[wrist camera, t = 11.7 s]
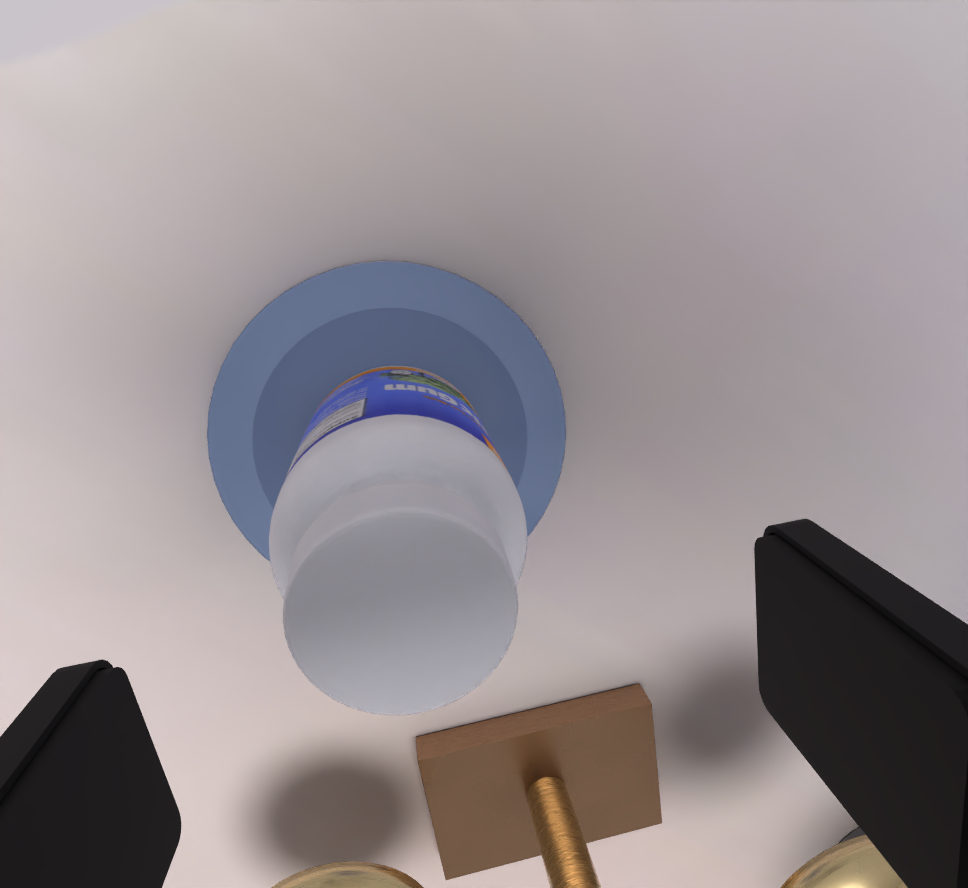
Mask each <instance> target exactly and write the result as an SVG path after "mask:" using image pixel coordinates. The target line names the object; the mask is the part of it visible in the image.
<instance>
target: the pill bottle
mask: <svg viewBox="0 0 968 888" xmlns="http://www.w3.org/2000/svg"><path fill="white" fill-rule="evenodd" d="M526 549H527V526H526V519H525V513H524V509H523V505H522V502H521V499H520V496H519V494H518V491H517V489H516V487H515V485H514V482H513V480H512V478H511V476H510V474H509V472H508V471H507V468H506V467H505V465H504V463H503V461H502V459H501V458H500V456H499V454H498V452H497V450H496V448H495V446H494V445H493V443H492V441H491V439H490V437H489V435H488V433H487V432H486V430H485V428H484V426H483V424H482V422H481V420H480V418H479V417H478V415H477V413H476V411H475V410H474V408H473V407H472V405H471V404H470V402H469V401H468V400H467V399H466V398H465V396H464V395H463V394H462V393H461V392H460V391H459V390H458V389H457V388H456V387H454V386H453V385H452V384H451V383H449V382H448V381H446V380H445V379H443V378H441V377H440V376H438V375H436V374H434V373H431V372H428V371H426V370H422V369H419V368H415V367H408V366H384V367H378V368H374V369H370V370H367V371H364V372H362V373H359V374H357V375H355V376H353V377H351V378H349V379H347V380H346V381H344V382H343V383H341V384H340V385H339V386H337V387H336V388H335V389H334V390H333V391H332V392H331V393H330V394H329V395H328V396H327V397H326V398H325V399H324V400H323V401H322V403H321V404H320V405H319V407H318V408H317V410H316V412H315V413H314V415H313V417H312V419H311V421H310V423H309V425H308V427H307V429H306V431H305V434H304V436H303V438H302V440H301V443H300V445H299V447H298V450H297V452H296V454H295V457H294V459H293V461H292V464H291V466H290V468H289V471H288V472H287V475H286V477H285V480H284V482H283V485H282V487H281V490H280V493H279V496H278V498H277V501H276V504H275V507H274V511H273V514H272V518H271V523H270V532H269V555H270V562H271V566H272V570H273V575H274V578H275V580H276V583H277V586H278V588H279V590H280V592H281V595H282V597H283V598H284V608H283V624H284V631H285V637H286V640H287V643H288V647H289V649H290V651H291V653H292V656H293V658H294V660H295V661H296V663H297V665H298V667H299V668H300V669H301V671H302V672H303V673H304V675H305V676H306V677H307V678H308V679H309V680H310V682H312V683H313V684H314V685H315V686H316V687H317V688H319V689H320V690H321V691H322V692H324V693H325V694H327V695H328V696H330V697H331V698H333V699H334V700H336V701H338V702H340V703H342V704H344V705H346V706H348V707H351V708H354V709H357V710H360V711H365V712H369V713H373V714H382V715H410V714H416V713H421V712H426V711H429V710H433V709H436V708H439V707H442V706H445V705H447V704H449V703H451V702H453V701H455V700H457V699H459V698H461V697H463V696H465V695H466V694H468V693H469V692H470V691H471V690H473V689H474V688H476V687H477V686H478V685H479V684H481V683H482V682H483V681H484V680H485V679H486V678H487V677H488V676H489V675H490V674H491V673H492V671H493V670H494V669H495V668H496V667H497V666H498V664H499V663H500V661H501V659H502V658H503V656H504V654H505V653H506V651H507V649H508V647H509V645H510V642H511V640H512V637H513V634H514V630H515V627H516V622H517V613H518V597H517V589H516V585H517V583H518V581H519V578H520V575H521V572H522V569H523V565H524V561H525V557H526Z"/></svg>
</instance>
